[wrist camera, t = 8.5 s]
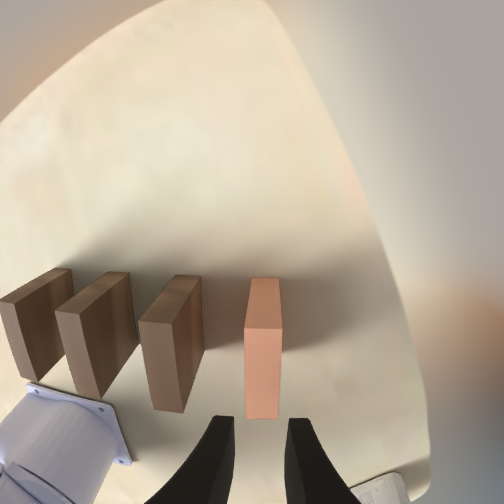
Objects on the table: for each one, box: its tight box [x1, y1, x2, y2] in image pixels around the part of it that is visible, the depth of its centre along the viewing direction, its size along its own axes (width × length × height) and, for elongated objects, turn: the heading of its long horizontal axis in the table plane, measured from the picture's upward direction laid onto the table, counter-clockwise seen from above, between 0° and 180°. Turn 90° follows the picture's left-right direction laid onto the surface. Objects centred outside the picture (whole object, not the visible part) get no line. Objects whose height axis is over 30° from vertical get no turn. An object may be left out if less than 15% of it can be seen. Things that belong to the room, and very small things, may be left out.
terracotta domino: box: [244, 278, 283, 419], centre depth 16 cm, size 2×5×6 cm, turn 0°
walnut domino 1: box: [0, 268, 75, 382], centre depth 17 cm, size 2×5×6 cm, turn 179°
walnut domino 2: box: [55, 272, 138, 399], centre depth 16 cm, size 2×5×6 cm, turn 179°
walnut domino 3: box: [138, 275, 204, 413], centre depth 16 cm, size 2×5×6 cm, turn 179°
